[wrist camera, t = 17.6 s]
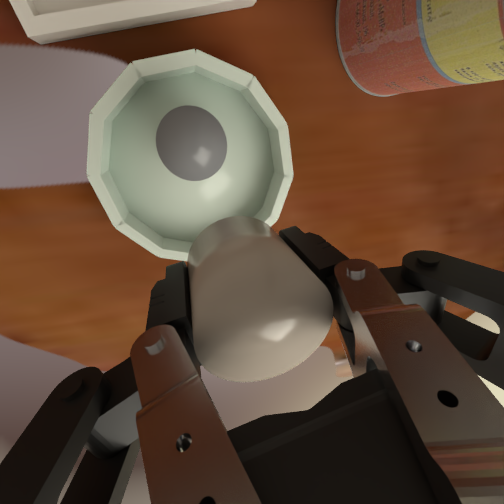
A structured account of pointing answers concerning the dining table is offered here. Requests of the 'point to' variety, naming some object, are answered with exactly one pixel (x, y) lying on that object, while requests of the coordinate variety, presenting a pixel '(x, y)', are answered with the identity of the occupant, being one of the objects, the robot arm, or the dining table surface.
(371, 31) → the canned food
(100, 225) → the dining table surface
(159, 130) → the grey river pebble
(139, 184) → the bowl
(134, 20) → the tray
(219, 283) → the grey-brown stone
